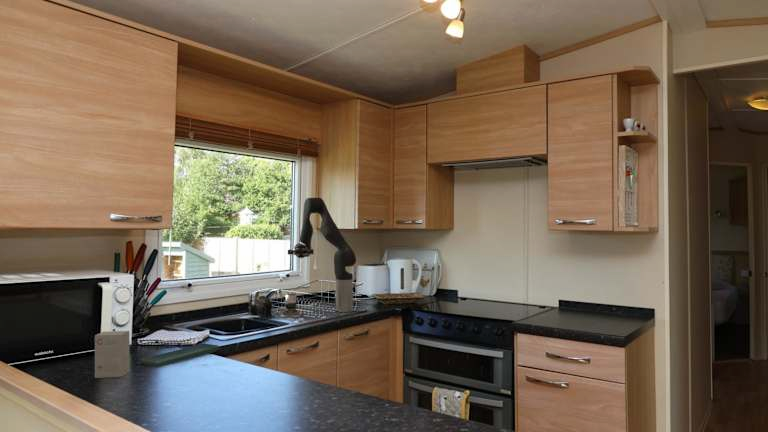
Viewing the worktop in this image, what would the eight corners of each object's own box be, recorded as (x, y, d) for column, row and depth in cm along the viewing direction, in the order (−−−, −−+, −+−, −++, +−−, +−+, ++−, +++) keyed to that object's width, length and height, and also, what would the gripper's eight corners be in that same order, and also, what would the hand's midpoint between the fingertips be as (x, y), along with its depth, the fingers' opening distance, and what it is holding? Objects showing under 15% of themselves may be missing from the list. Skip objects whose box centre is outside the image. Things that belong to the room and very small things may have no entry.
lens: (296, 313, 273) (296, 293, 273) (296, 314, 267) (295, 294, 268) (286, 313, 272) (285, 293, 273) (285, 315, 267) (284, 294, 267)
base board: (301, 313, 275) (301, 312, 275) (300, 317, 265) (300, 315, 265) (282, 314, 274) (282, 312, 274) (280, 317, 264) (280, 316, 264)
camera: (246, 315, 273) (246, 296, 273) (264, 313, 277) (264, 295, 277) (255, 320, 257) (254, 300, 257) (273, 318, 261) (273, 298, 262)
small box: (129, 371, 165) (130, 330, 165) (121, 377, 158) (122, 334, 159) (103, 372, 164) (103, 331, 164) (93, 378, 158) (94, 335, 158)
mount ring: (300, 312, 275) (300, 309, 275) (299, 315, 266) (299, 312, 266) (283, 313, 274) (283, 310, 274) (281, 315, 265) (281, 312, 265)
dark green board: (157, 369, 169) (157, 361, 169) (139, 365, 174) (139, 358, 174) (220, 352, 192) (220, 345, 192) (202, 349, 197) (202, 343, 197)
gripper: (289, 244, 303) (287, 245, 287) (313, 244, 305) (313, 245, 289) (289, 257, 303) (287, 259, 287) (313, 257, 305) (313, 259, 289)
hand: (300, 252), depth 288 cm, fingers open, 8 cm apart
